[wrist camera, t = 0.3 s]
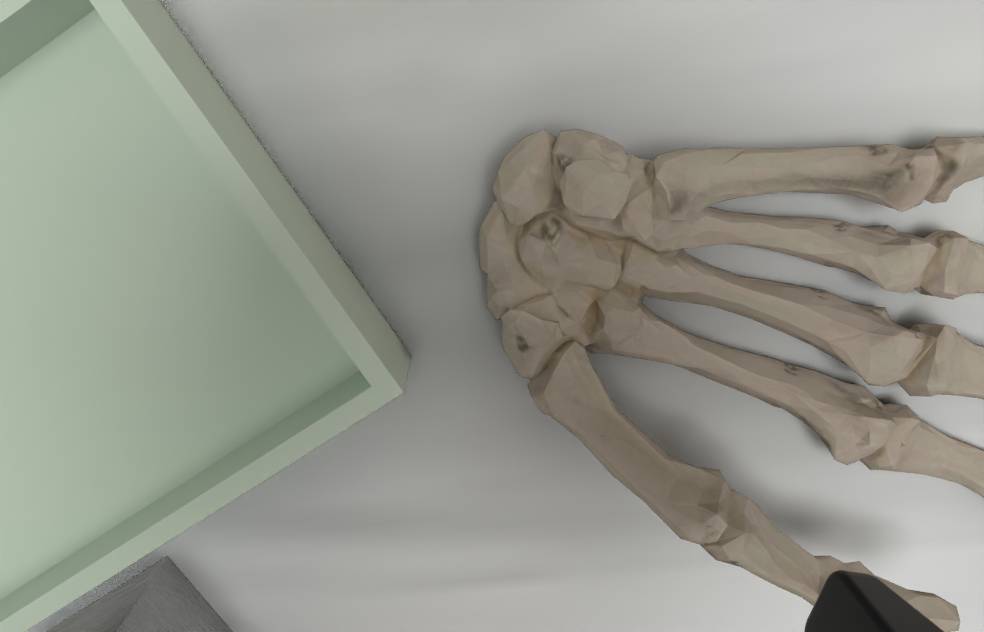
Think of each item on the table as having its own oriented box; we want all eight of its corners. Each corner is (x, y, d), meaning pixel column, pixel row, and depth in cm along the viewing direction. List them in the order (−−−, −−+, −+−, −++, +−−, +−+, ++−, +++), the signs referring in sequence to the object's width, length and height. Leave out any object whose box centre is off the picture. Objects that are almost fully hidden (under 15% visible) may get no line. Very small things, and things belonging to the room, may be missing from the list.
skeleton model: (1303, 131, 23) (1531, 142, 18) (1188, 524, 26) (1352, 620, 21) (477, 133, 21) (483, 145, 17) (479, 543, 25) (485, 649, 20)
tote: (-48, 647, 25) (-120, 722, 22) (-367, 325, 22) (-504, 359, 19) (411, 356, 23) (403, 392, 20) (132, -39, 20) (71, -69, 17)
